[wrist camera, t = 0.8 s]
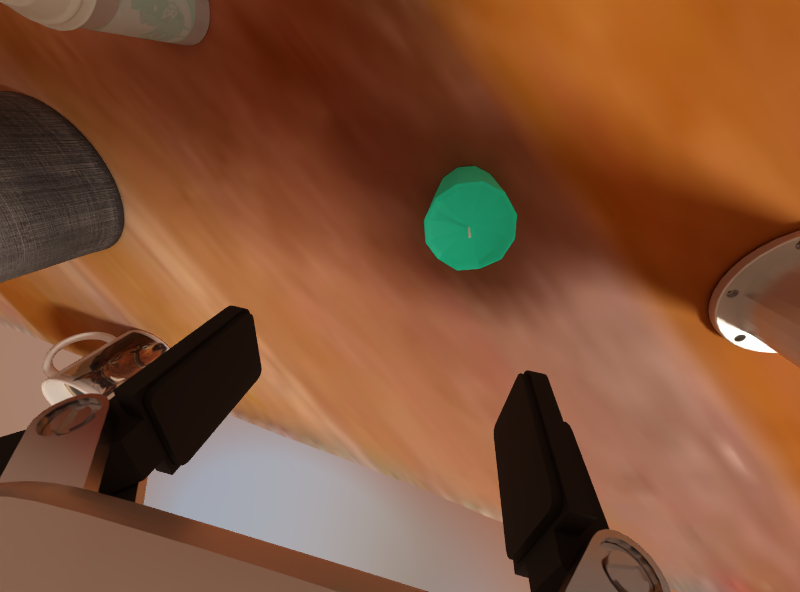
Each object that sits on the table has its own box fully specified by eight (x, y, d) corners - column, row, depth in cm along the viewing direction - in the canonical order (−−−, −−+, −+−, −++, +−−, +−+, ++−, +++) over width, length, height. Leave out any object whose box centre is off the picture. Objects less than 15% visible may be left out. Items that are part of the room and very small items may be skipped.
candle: (426, 178, 27) (407, 204, 17) (490, 154, 26) (512, 167, 15) (444, 237, 30) (436, 290, 20) (504, 219, 28) (530, 268, 18)
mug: (141, 374, 52) (69, 427, 42) (100, 317, 46) (7, 364, 37) (189, 376, 49) (124, 433, 40) (152, 317, 44) (67, 367, 34)
